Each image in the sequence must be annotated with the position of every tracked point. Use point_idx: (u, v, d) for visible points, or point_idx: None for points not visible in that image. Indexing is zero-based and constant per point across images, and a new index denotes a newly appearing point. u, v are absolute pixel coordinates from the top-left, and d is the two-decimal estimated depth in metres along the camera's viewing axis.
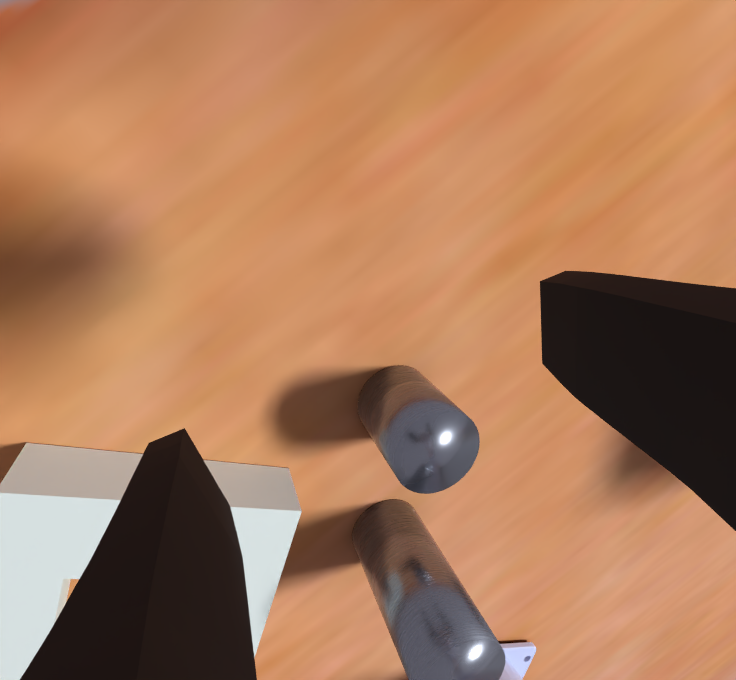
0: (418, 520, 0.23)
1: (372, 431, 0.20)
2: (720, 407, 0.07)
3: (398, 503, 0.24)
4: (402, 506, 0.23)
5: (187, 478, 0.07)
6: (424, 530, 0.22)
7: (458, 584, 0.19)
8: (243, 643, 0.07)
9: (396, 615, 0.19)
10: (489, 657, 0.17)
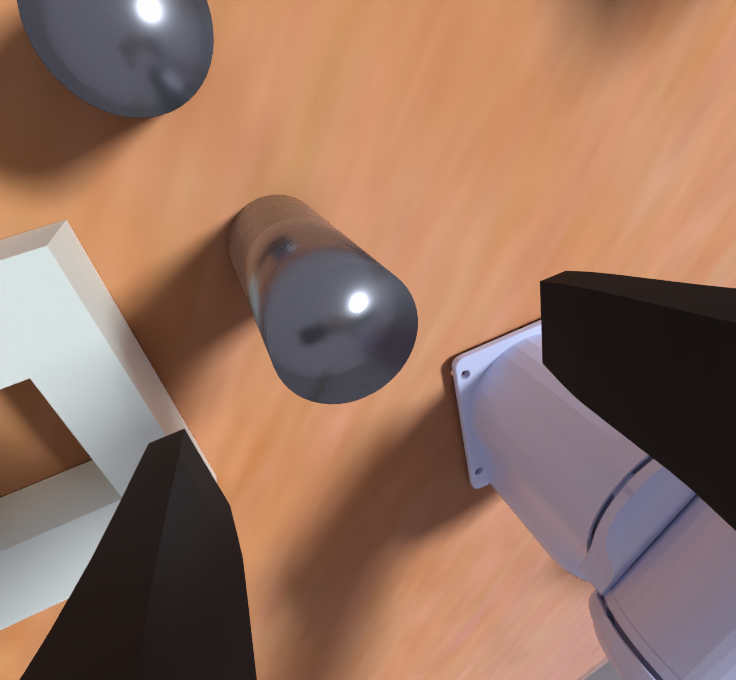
0: (290, 202, 0.16)
1: None
2: (720, 407, 0.07)
3: (262, 199, 0.16)
4: (267, 199, 0.16)
5: (187, 478, 0.07)
6: (294, 207, 0.15)
7: (323, 232, 0.12)
8: (243, 643, 0.07)
9: (253, 314, 0.13)
10: (371, 291, 0.11)
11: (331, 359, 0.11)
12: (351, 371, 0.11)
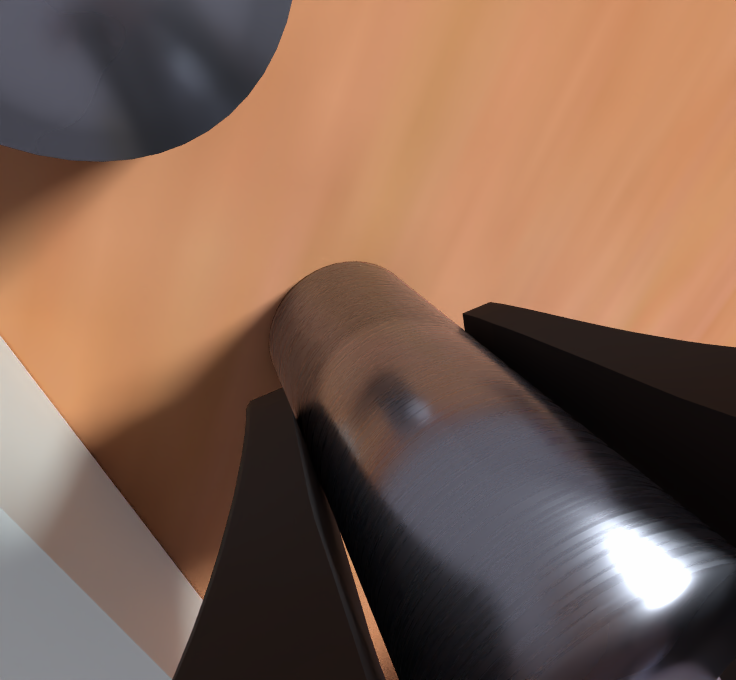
0: (381, 283, 0.09)
1: None
2: None
3: (329, 271, 0.10)
4: (337, 274, 0.10)
5: (298, 429, 0.07)
6: (395, 296, 0.09)
7: (503, 391, 0.06)
8: (353, 586, 0.07)
9: (351, 556, 0.06)
10: (703, 611, 0.04)
11: None
12: None
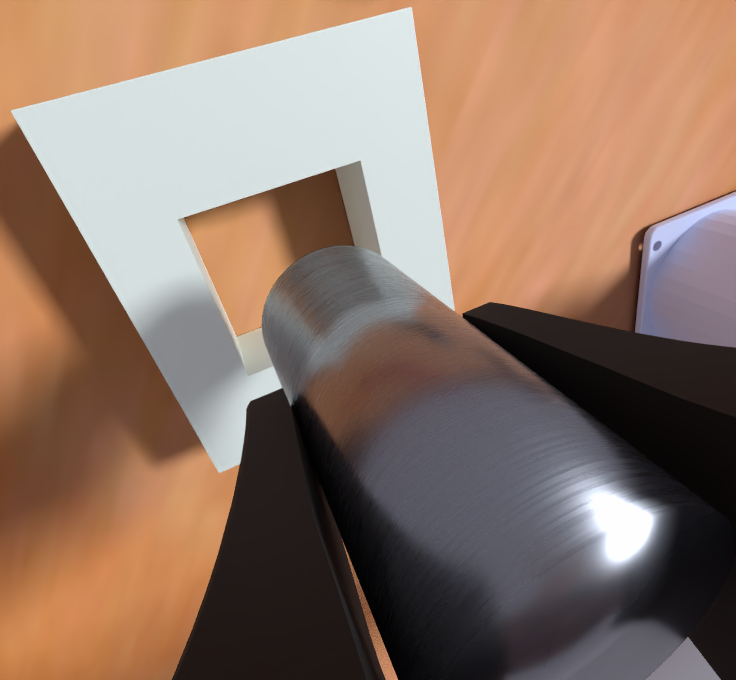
0: (375, 264, 0.09)
1: None
2: None
3: (325, 252, 0.10)
4: (333, 254, 0.10)
5: (298, 429, 0.07)
6: (389, 276, 0.09)
7: (490, 358, 0.06)
8: (353, 586, 0.07)
9: (335, 514, 0.06)
10: (672, 556, 0.04)
11: None
12: None
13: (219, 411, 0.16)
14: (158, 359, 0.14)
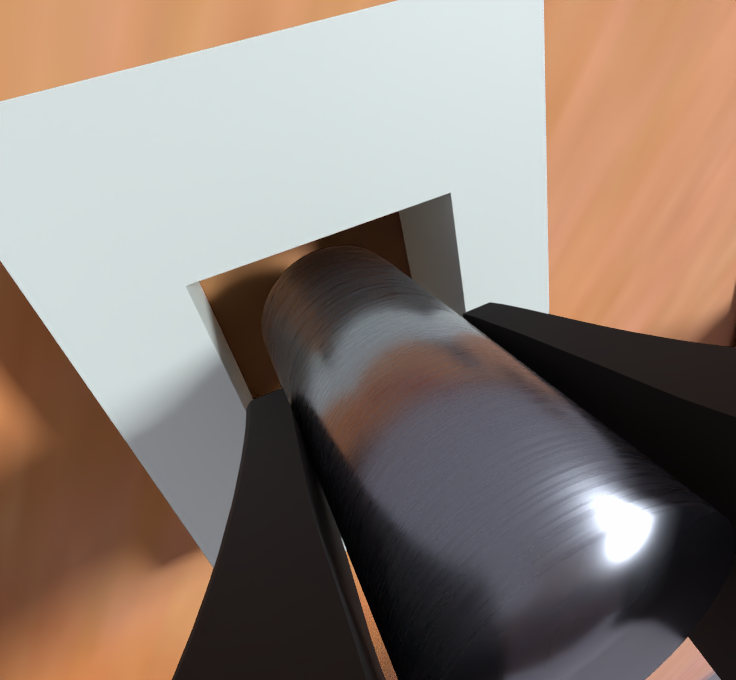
0: (375, 264, 0.09)
1: None
2: None
3: (325, 252, 0.10)
4: (333, 255, 0.10)
5: (298, 430, 0.07)
6: (388, 276, 0.09)
7: (490, 358, 0.06)
8: (353, 586, 0.07)
9: (335, 514, 0.06)
10: (672, 556, 0.04)
11: None
12: None
13: None
14: (157, 476, 0.10)
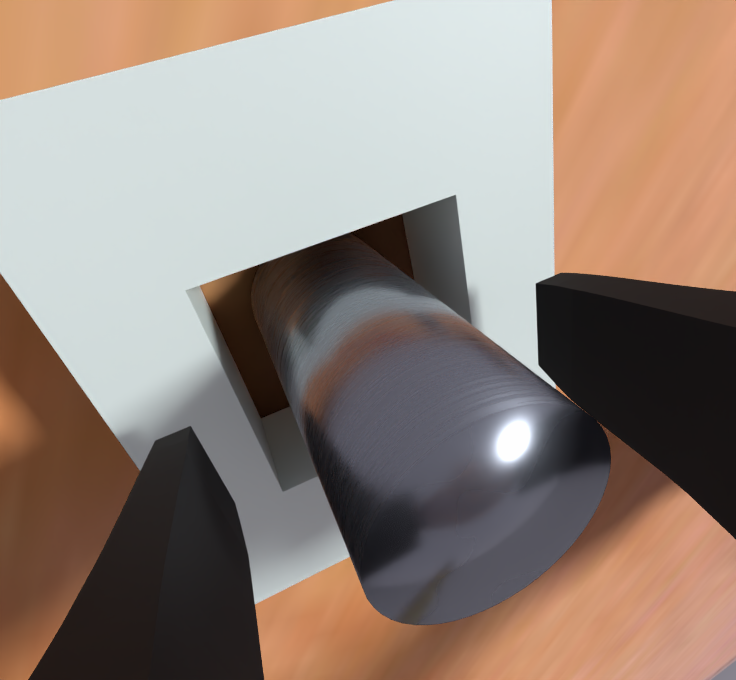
0: (349, 242, 0.11)
1: None
2: (714, 410, 0.07)
3: None
4: None
5: (194, 475, 0.07)
6: (359, 252, 0.10)
7: (432, 311, 0.07)
8: (250, 639, 0.07)
9: (305, 439, 0.07)
10: (551, 447, 0.06)
11: (460, 560, 0.06)
12: (486, 571, 0.06)
13: None
14: None
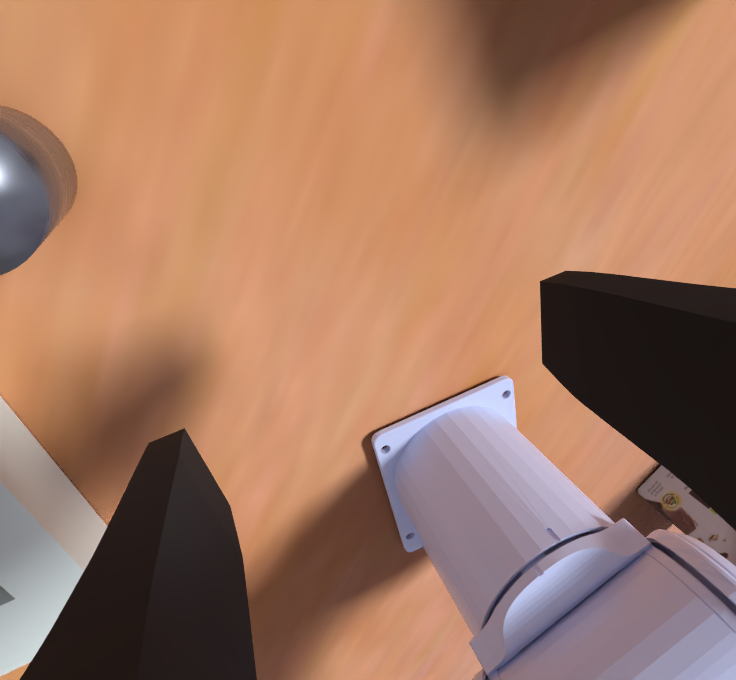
0: None
1: None
2: (720, 407, 0.07)
3: None
4: None
5: (187, 478, 0.07)
6: None
7: None
8: (243, 643, 0.07)
9: None
10: None
11: None
12: None
13: None
14: None
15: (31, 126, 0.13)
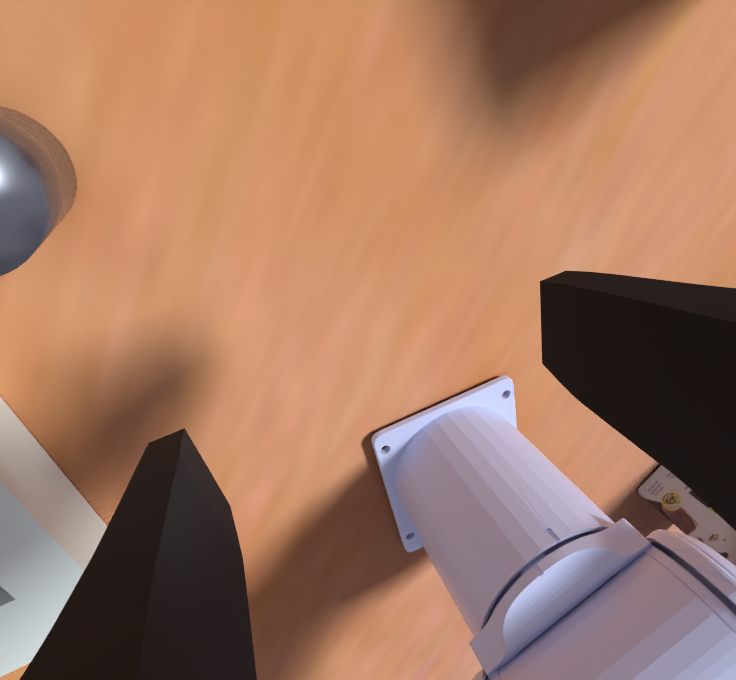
0: None
1: None
2: (719, 407, 0.07)
3: None
4: None
5: (187, 478, 0.07)
6: None
7: None
8: (243, 643, 0.07)
9: None
10: None
11: None
12: None
13: None
14: None
15: (30, 127, 0.13)
